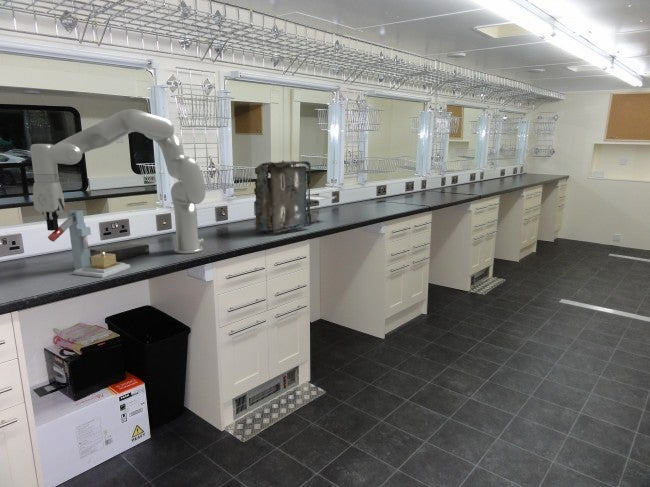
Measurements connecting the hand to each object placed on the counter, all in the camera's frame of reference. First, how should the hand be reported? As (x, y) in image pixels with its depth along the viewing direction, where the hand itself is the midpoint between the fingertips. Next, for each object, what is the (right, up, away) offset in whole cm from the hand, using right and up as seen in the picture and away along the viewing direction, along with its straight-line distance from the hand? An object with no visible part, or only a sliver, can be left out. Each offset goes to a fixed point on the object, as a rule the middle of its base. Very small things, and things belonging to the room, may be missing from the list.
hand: (53, 229), depth 165 cm
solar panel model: (+89, +9, +116) cm, 147 cm away
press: (+10, -15, +11) cm, 22 cm away
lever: (+2, +1, +5) cm, 6 cm away
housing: (+14, -14, +10) cm, 22 cm away
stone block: (+10, -11, +32) cm, 36 cm away
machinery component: (+74, +2, +84) cm, 112 cm away
